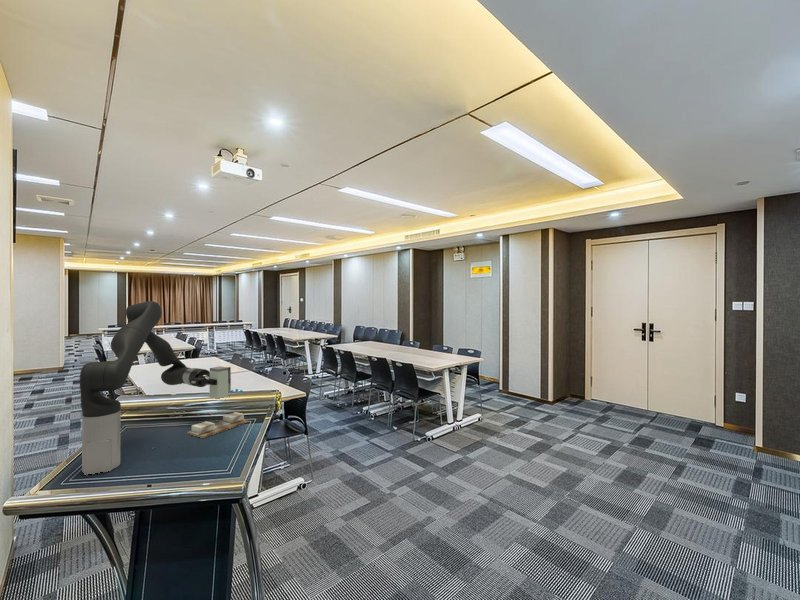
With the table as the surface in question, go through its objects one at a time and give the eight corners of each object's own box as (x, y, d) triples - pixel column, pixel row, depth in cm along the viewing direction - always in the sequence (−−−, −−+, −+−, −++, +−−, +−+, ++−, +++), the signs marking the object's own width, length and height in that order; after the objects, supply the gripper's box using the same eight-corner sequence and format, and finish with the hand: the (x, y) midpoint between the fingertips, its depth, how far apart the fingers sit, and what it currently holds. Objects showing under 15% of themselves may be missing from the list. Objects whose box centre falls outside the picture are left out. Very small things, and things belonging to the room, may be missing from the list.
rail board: (203, 438, 135) (203, 429, 135) (187, 434, 139) (187, 424, 139) (247, 423, 152) (247, 414, 152) (232, 419, 157) (232, 411, 157)
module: (218, 399, 143) (218, 369, 143) (209, 397, 145) (209, 368, 145) (228, 396, 147) (228, 367, 147) (219, 394, 149) (219, 366, 149)
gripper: (179, 371, 147) (205, 375, 139) (212, 365, 160) (237, 369, 151) (179, 389, 147) (205, 394, 139) (212, 382, 159) (237, 386, 151)
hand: (222, 381), depth 145 cm, fingers closed on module, 4 cm apart
